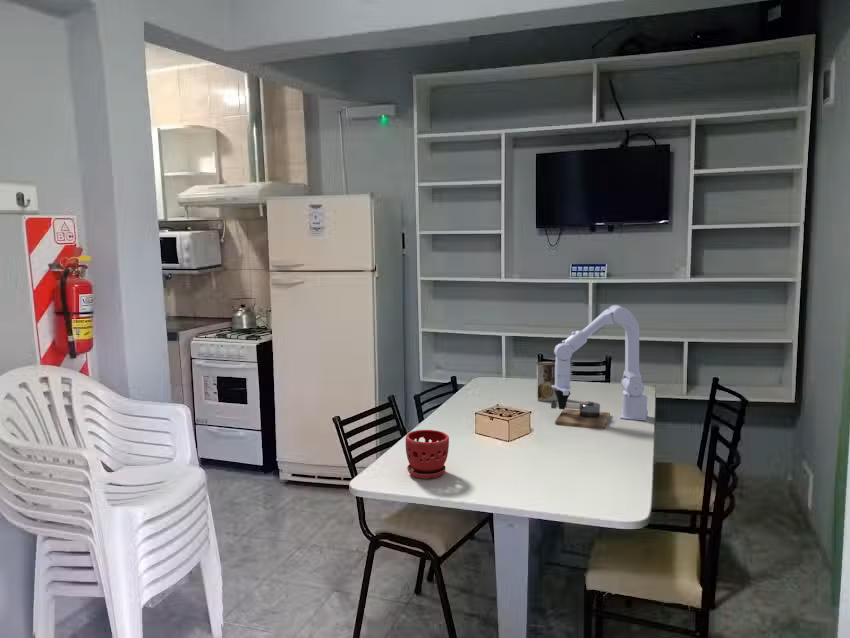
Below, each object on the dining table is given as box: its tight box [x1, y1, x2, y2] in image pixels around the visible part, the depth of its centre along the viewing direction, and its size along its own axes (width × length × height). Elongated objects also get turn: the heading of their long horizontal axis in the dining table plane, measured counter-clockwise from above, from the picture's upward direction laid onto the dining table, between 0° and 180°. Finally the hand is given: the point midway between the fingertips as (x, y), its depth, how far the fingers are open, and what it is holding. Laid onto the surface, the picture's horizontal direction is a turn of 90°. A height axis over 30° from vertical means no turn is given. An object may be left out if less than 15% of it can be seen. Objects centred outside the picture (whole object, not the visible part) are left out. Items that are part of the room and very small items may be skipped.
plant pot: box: [405, 429, 450, 479], centre depth 188 cm, size 13×13×12 cm
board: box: [554, 408, 611, 430], centre depth 239 cm, size 18×18×1 cm
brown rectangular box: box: [536, 361, 558, 402], centre depth 269 cm, size 9×6×16 cm
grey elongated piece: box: [550, 400, 601, 417], centre depth 243 cm, size 18×8×5 cm, turn 69°
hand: (561, 408), depth 243 cm, fingers closed
